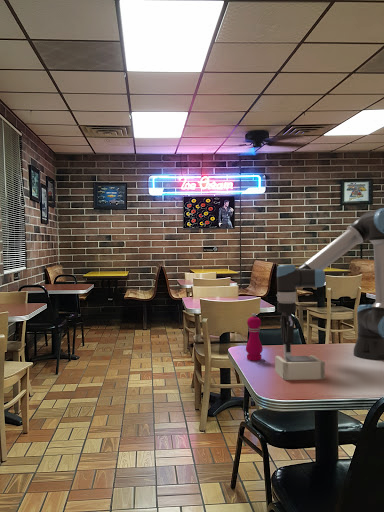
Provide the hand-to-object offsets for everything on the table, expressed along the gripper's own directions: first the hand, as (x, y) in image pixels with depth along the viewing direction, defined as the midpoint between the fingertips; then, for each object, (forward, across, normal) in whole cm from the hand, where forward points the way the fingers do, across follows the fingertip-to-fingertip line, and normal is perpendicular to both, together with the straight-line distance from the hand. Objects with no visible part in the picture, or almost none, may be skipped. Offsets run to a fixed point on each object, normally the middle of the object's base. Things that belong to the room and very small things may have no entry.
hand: (287, 359), depth 174 cm
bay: (+2, +15, 0) cm, 15 cm away
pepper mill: (+2, -11, -11) cm, 16 cm away
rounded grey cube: (+2, +16, 0) cm, 16 cm away
